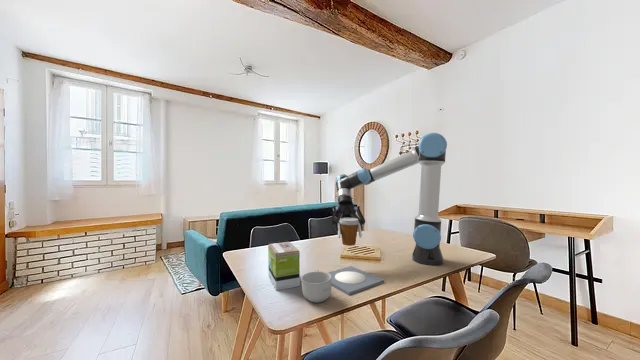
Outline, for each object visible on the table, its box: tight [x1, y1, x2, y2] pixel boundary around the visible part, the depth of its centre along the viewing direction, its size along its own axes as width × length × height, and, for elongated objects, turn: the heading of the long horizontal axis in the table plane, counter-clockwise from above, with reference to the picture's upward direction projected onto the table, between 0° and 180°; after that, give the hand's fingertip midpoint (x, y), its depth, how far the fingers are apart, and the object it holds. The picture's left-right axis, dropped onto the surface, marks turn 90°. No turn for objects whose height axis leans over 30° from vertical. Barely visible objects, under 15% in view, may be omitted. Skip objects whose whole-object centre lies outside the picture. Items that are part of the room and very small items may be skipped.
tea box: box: [267, 241, 301, 291], centre depth 102 cm, size 15×10×15 cm, turn 23°
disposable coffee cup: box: [339, 216, 359, 246], centre depth 117 cm, size 10×10×12 cm
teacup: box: [300, 269, 332, 303], centre depth 89 cm, size 14×11×8 cm
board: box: [327, 265, 385, 296], centre depth 103 cm, size 20×20×1 cm
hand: (350, 236), depth 114 cm, fingers closed on disposable coffee cup, 9 cm apart
